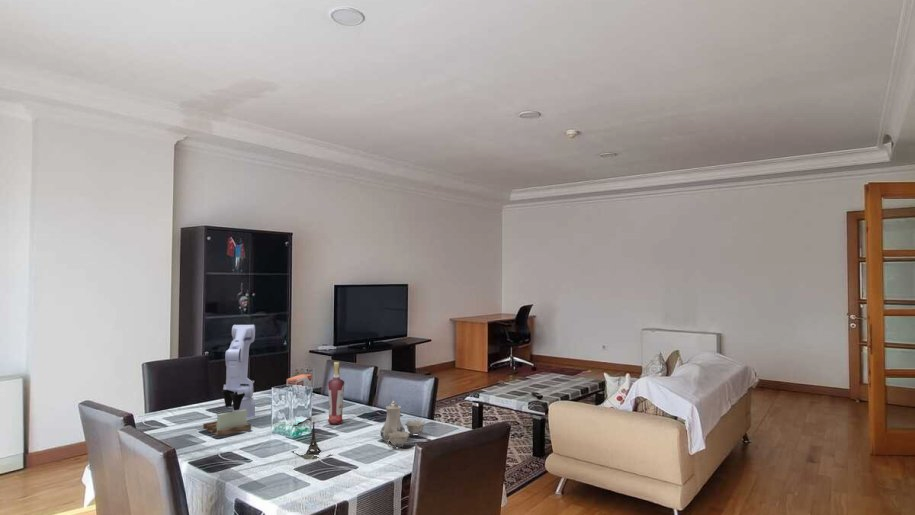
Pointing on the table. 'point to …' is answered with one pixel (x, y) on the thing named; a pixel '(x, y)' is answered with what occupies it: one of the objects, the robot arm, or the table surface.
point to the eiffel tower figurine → (312, 448)
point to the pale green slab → (231, 419)
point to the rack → (213, 429)
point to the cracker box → (300, 380)
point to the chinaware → (398, 427)
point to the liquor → (335, 396)
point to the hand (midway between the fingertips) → (232, 408)
